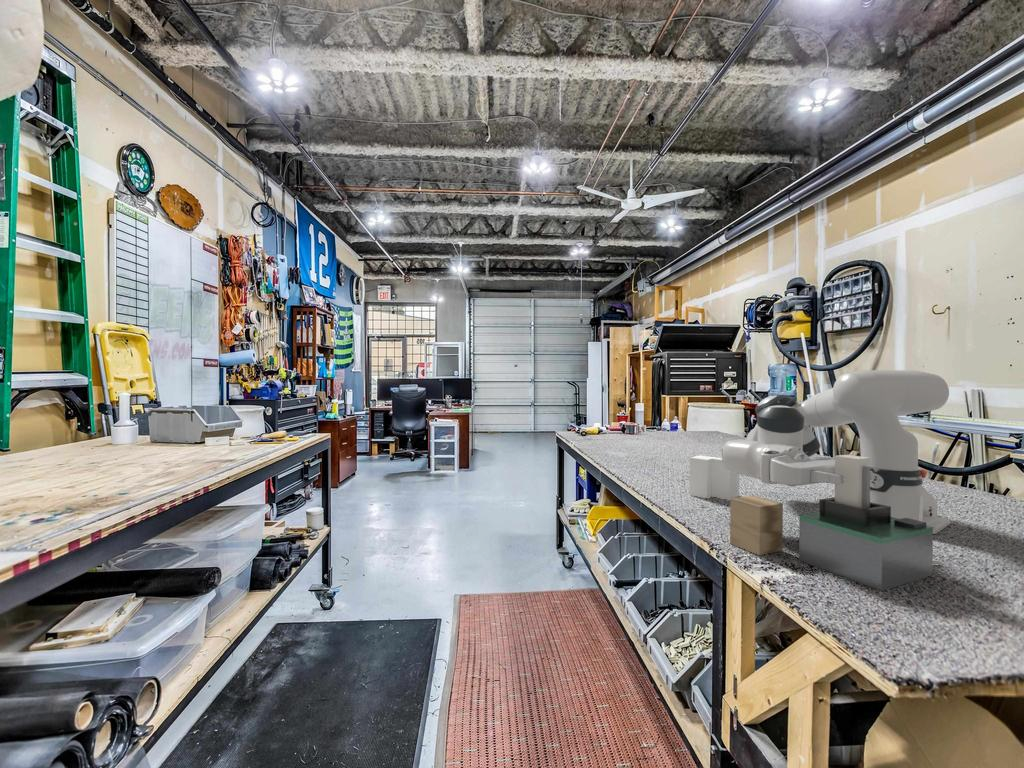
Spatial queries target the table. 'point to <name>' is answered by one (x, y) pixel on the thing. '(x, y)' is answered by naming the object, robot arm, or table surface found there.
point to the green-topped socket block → (866, 544)
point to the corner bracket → (712, 478)
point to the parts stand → (756, 524)
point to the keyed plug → (853, 481)
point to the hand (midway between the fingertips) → (856, 478)
